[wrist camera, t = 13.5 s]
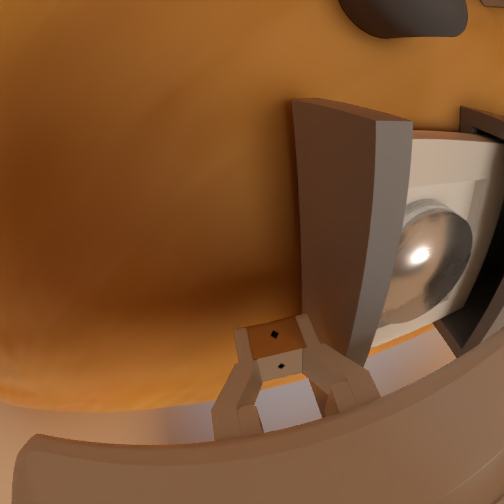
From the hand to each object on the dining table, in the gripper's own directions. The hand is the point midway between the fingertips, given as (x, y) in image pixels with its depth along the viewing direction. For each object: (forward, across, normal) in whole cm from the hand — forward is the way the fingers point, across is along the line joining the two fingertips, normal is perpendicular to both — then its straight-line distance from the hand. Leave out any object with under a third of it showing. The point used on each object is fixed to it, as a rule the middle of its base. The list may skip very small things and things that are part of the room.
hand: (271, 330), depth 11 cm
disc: (+2, -8, 0) cm, 9 cm away
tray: (+3, -9, 0) cm, 10 cm away
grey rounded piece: (+4, -7, -13) cm, 16 cm away
